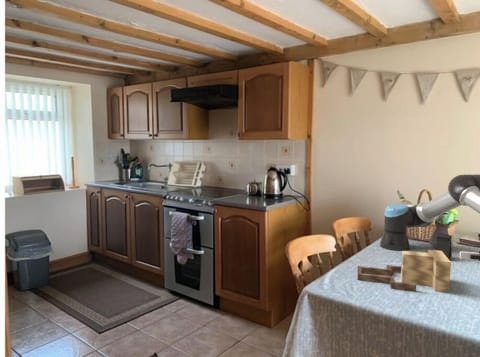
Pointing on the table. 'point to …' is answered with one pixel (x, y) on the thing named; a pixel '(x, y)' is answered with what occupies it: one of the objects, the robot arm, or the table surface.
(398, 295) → the table surface
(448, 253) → the phone stand
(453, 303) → the table surface
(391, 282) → the walnut T frame
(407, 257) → the oak T block
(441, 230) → the coffee pot
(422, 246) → the table surface
